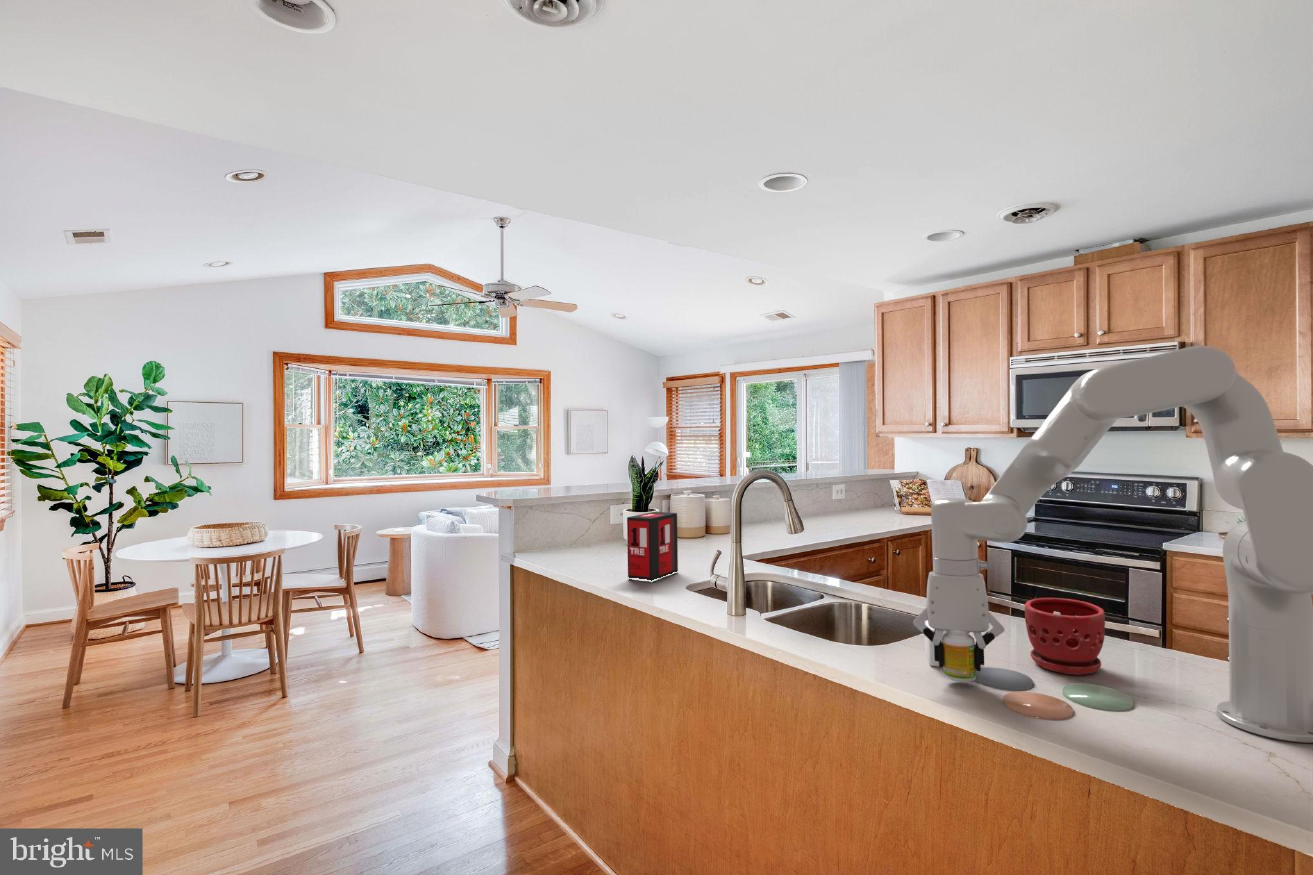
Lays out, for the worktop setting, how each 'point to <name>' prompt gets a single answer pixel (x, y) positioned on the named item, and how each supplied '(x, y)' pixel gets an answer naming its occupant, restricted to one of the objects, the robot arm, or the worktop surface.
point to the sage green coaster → (1097, 697)
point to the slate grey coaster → (1003, 679)
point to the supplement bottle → (959, 656)
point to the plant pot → (1065, 634)
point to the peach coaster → (1038, 705)
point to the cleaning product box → (652, 545)
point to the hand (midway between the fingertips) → (959, 665)
